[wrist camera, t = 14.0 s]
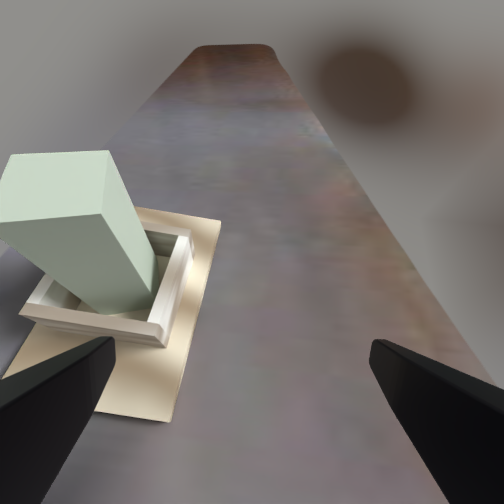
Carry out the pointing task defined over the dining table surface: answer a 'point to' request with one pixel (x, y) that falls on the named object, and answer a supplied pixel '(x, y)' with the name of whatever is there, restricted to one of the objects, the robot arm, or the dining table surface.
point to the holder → (133, 320)
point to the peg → (79, 228)
